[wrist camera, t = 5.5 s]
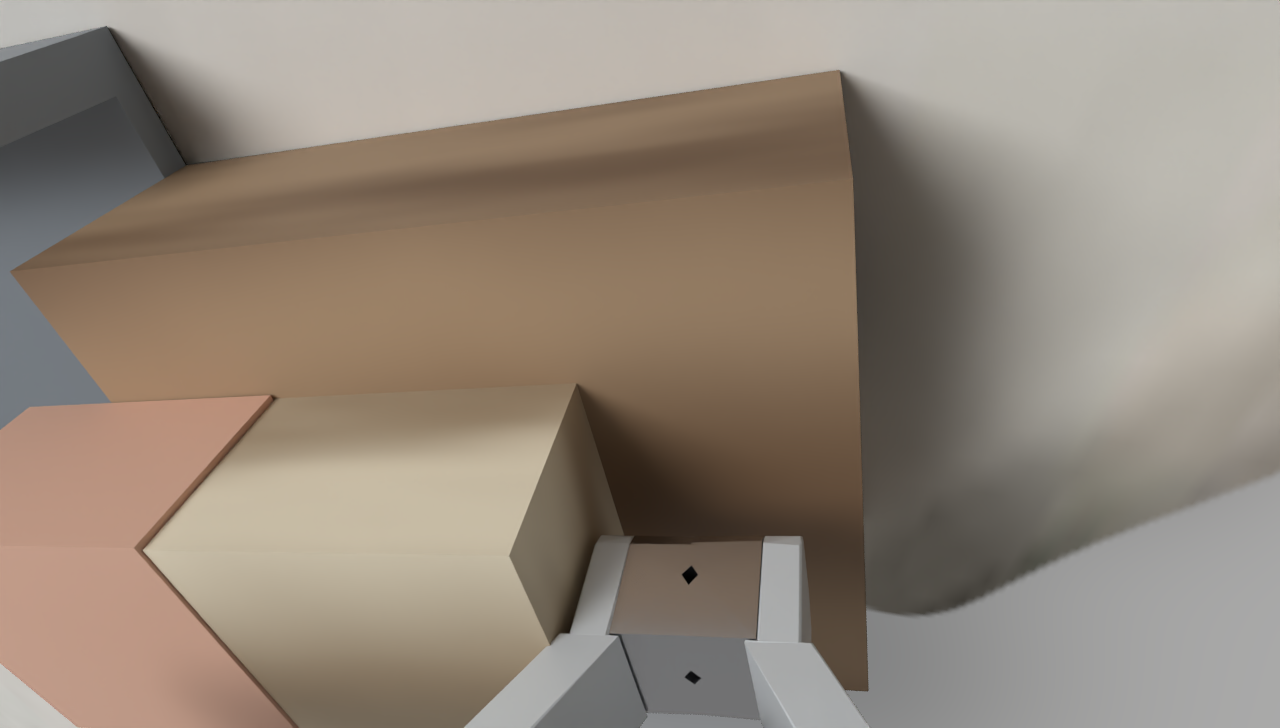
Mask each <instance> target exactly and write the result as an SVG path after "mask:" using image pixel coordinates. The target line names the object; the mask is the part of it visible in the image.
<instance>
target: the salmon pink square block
mask: <svg viewBox="0 0 1280 728" xmlns="http://www.w3.org/2000/svg"><path fill="white" fill-rule="evenodd" d="M273 401H274V400H273V399H272V397H271V395H263V396H243V397H222V398H202V399H182V400H161V401H141V402H121V403H100V404H80V405H59V406H39V407H29V408H27V409H26V410H25V411H24V412H22V413H21V414H20V415H19V416H17V417H16V418H15V419H14V420H12V421H11V422H10V423H8V424H7V425H6V426H5V427H3V428H2V429H1V430H0V663H1V664H2V665H3V666H4V667H5V668H7V669H8V670H9V671H10V672H12V673H13V674H14V675H15V676H16V677H18V678H19V679H20V680H21V681H22V682H24V683H25V684H26V685H27V686H28V687H30V688H31V689H32V690H33V691H34V692H36V693H37V694H38V695H39V696H40V697H42V698H43V699H44V700H45V701H46V702H48V703H49V704H50V705H51V706H53V707H54V708H55V709H56V710H57V711H59V712H60V713H61V714H62V715H63V716H65V717H66V718H67V719H68V720H69V721H71V722H72V723H73V724H74V725H75V726H77V727H81V728H299V727H298V726H297V725H296V724H295V723H294V722H293V720H292V719H291V718H290V717H289V716H288V715H287V714H286V713H285V711H284V710H283V709H282V708H281V707H280V706H279V705H278V703H277V702H276V701H275V700H274V699H273V698H272V697H271V696H270V694H269V693H268V692H267V691H266V690H265V689H264V688H263V686H262V685H261V684H260V683H259V682H258V681H257V680H256V678H255V677H254V676H253V675H252V674H251V673H250V672H249V671H248V669H247V668H246V667H245V666H244V665H243V664H242V663H241V661H240V660H239V659H238V658H237V657H236V656H235V655H234V654H233V652H232V651H231V650H230V649H229V648H228V647H227V646H226V644H225V643H224V642H223V641H222V640H221V639H220V638H219V637H218V635H217V634H216V633H215V632H214V631H213V630H212V629H211V627H210V626H209V625H208V624H207V623H206V622H205V621H204V620H203V618H202V617H201V616H200V615H199V614H198V613H197V612H196V610H195V609H194V608H193V607H192V606H191V605H190V604H189V603H188V601H187V600H186V599H185V598H184V597H183V596H182V595H181V593H180V592H179V591H178V590H177V589H176V588H175V587H174V586H173V584H172V583H171V582H170V581H169V580H168V579H167V578H166V576H165V575H164V574H163V573H162V572H161V571H160V570H159V569H158V567H157V566H156V565H155V564H154V563H153V562H152V561H151V559H150V558H149V557H148V556H147V555H146V554H145V553H144V552H143V549H144V548H145V547H146V546H147V544H148V543H149V542H150V541H151V540H152V539H153V538H154V537H155V535H156V534H157V533H158V532H159V531H160V530H161V529H162V527H163V526H164V525H165V524H166V523H167V522H168V521H169V519H170V518H171V517H172V516H173V515H174V514H175V513H176V511H177V510H178V509H179V508H180V507H181V506H182V505H183V504H184V502H185V501H186V500H187V499H188V498H189V497H190V496H191V494H192V493H193V492H194V491H195V490H196V489H197V488H198V486H199V485H200V484H201V483H202V482H203V481H204V480H205V478H206V477H207V476H208V475H209V474H210V473H211V472H212V470H213V469H214V468H215V467H216V466H217V465H218V464H219V463H220V461H221V460H222V459H223V458H224V457H225V456H226V455H227V453H228V452H229V451H230V450H231V449H232V448H233V447H234V445H235V444H236V443H237V442H238V441H239V440H240V439H241V437H242V436H243V435H244V434H245V433H246V432H247V431H248V430H249V428H250V427H251V426H252V425H253V424H254V423H255V422H256V420H257V419H258V418H259V417H260V416H261V415H262V414H263V412H264V411H265V410H266V409H267V408H268V407H269V406H270V404H271V403H272V402H273Z"/></svg>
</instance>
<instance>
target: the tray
mask: <svg viewBox="0 0 1280 728" xmlns="http://www.w3.org/2000/svg"><path fill="white" fill-rule="evenodd" d="M184 166H186V165H185V163H184V161H183V160H182V158H181V156H180V154H179V153H178V151H177V149H176V147H175V146H174V144H173V142H172V140H171V139H170V137H169V135H168V133H167V132H166V130H165V128H164V126H163V125H162V123H161V121H160V119H159V118H158V116H157V114H156V112H155V110H154V109H153V107H152V105H151V103H150V102H149V100H148V98H147V96H146V95H145V93H144V91H143V89H142V88H141V86H140V84H139V82H138V81H137V79H136V77H135V75H134V74H133V72H132V70H131V68H130V67H129V65H128V63H127V61H126V59H125V58H124V56H123V54H122V52H121V51H120V49H119V47H118V45H117V44H116V42H115V40H114V38H113V37H112V35H111V33H110V31H109V30H108V28H107V26H105V27H100V28H96V29H91V30H86V31H82V32H77V33H72V34H67V35H63V36H58V37H53V38H49V39H44V40H39V41H34V42H30V43H25V44H20V45H15V46H11V47H6V48H1V49H0V430H1V429H2V428H3V427H5V426H6V425H7V424H8V423H10V422H11V421H12V420H14V419H15V418H16V417H17V416H19V415H20V414H21V413H22V412H24V411H25V410H26V409H27V408H29V407H39V406H59V405H80V404H100V403H111V401H110V400H109V399H108V397H107V396H106V395H105V394H104V392H103V391H102V390H101V388H100V387H99V386H98V385H97V383H96V382H95V381H94V379H93V378H92V377H91V376H90V374H89V373H88V372H87V370H86V369H85V368H84V367H83V365H82V364H81V363H80V361H79V360H78V359H77V358H76V356H75V355H74V354H73V352H72V351H71V350H70V349H69V347H68V346H67V345H66V343H65V342H64V341H63V340H62V338H61V337H60V336H59V334H58V333H57V332H56V331H55V329H54V328H53V327H52V325H51V324H50V323H49V322H48V320H47V319H46V318H45V316H44V315H43V314H42V313H41V311H40V310H39V309H38V307H37V306H36V305H35V304H34V302H33V301H32V300H31V298H30V297H29V296H28V295H27V293H26V292H25V291H24V289H23V288H22V287H21V286H20V284H19V283H18V282H17V280H16V279H15V278H14V277H13V275H12V274H11V273H10V271H11V270H13V269H15V268H16V267H18V266H20V265H21V264H23V263H25V262H26V261H28V260H29V259H31V258H33V257H34V256H36V255H38V254H39V253H41V252H43V251H44V250H46V249H48V248H49V247H51V246H53V245H54V244H56V243H58V242H59V241H61V240H63V239H64V238H66V237H68V236H69V235H71V234H73V233H74V232H76V231H78V230H79V229H81V228H83V227H84V226H86V225H88V224H89V223H91V222H93V221H94V220H96V219H98V218H99V217H101V216H103V215H104V214H106V213H108V212H109V211H111V210H113V209H114V208H116V207H118V206H119V205H121V204H123V203H124V202H126V201H128V200H129V199H131V198H133V197H134V196H136V195H138V194H139V193H141V192H143V191H144V190H146V189H148V188H149V187H151V186H153V185H154V184H156V183H158V182H159V181H161V180H163V179H164V178H166V177H168V176H169V175H171V174H173V173H174V172H176V171H178V170H179V169H181V168H183V167H184Z"/></svg>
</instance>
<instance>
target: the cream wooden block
mask: <svg viewBox="0 0 1280 728" xmlns="http://www.w3.org/2000/svg"><path fill="white" fill-rule="evenodd" d="M601 535H618V536H624V533H623V530H622V527H621V524H620V520H619V517H618V514H617V511H616V508H615V504H614V501H613V498H612V495H611V492H610V488H609V485H608V482H607V479H606V476H605V472H604V469H603V466H602V463H601V460H600V457H599V453H598V450H597V447H596V444H595V441H594V437H593V434H592V431H591V428H590V425H589V421H588V418H587V415H586V412H585V409H584V405H583V402H582V399H581V396H580V393H579V390H578V386H577V383H572V384H552V385H532V386H512V387H493V388H473V389H453V390H434V391H414V392H395V393H375V394H355V395H336V396H316V397H297V398H277V399H275V400H274V401H273V402H272V403H271V404H270V406H269V407H268V408H267V409H266V410H265V411H264V412H263V414H262V415H261V416H260V417H259V418H258V419H257V420H256V422H255V423H254V424H253V425H252V426H251V427H250V428H249V430H248V431H247V432H246V433H245V434H244V435H243V436H242V437H241V439H240V440H239V441H238V442H237V443H236V444H235V445H234V447H233V448H232V449H231V450H230V451H229V452H228V453H227V455H226V456H225V457H224V458H223V459H222V460H221V461H220V463H219V464H218V465H217V466H216V467H215V468H214V469H213V470H212V472H211V473H210V474H209V475H208V476H207V477H206V478H205V480H204V481H203V482H202V483H201V484H200V485H199V486H198V488H197V489H196V490H195V491H194V492H193V493H192V494H191V496H190V497H189V498H188V499H187V500H186V501H185V502H184V504H183V505H182V506H181V507H180V508H179V509H178V510H177V511H176V513H175V514H174V515H173V516H172V517H171V518H170V519H169V521H168V522H167V523H166V524H165V525H164V526H163V527H162V529H161V530H160V531H159V532H158V533H157V534H156V535H155V537H154V538H153V539H152V540H151V541H150V542H149V543H148V544H147V546H146V547H145V548H144V549H143V552H144V553H145V554H146V555H147V556H148V557H149V558H150V559H151V561H152V562H153V563H154V564H155V565H156V566H157V567H158V569H159V570H160V571H161V572H162V573H163V574H164V575H165V576H166V578H167V579H168V580H169V581H170V582H171V583H172V584H173V586H174V587H175V588H176V589H177V590H178V591H179V592H180V593H181V595H182V596H183V597H184V598H185V599H186V600H187V601H188V603H189V604H190V605H191V606H192V607H193V608H194V609H195V610H196V612H197V613H198V614H199V615H200V616H201V617H202V618H203V620H204V621H205V622H206V623H207V624H208V625H209V626H210V627H211V629H212V630H213V631H214V632H215V633H216V634H217V635H218V637H219V638H220V639H221V640H222V641H223V642H224V643H225V644H226V646H227V647H228V648H229V649H230V650H231V651H232V652H233V654H234V655H235V656H236V657H237V658H238V659H239V660H240V661H241V663H242V664H243V665H244V666H245V667H246V668H247V669H248V671H249V672H250V673H251V674H252V675H253V676H254V677H255V678H256V680H257V681H258V682H259V683H260V684H261V685H262V686H263V688H264V689H265V690H266V691H267V692H268V693H269V694H270V696H271V697H272V698H273V699H274V700H275V701H276V702H277V703H278V705H279V706H280V707H281V708H282V709H283V710H284V711H285V713H286V714H287V715H288V716H289V717H290V718H291V719H292V720H293V722H294V723H295V724H296V725H297V726H298V727H299V728H464V727H465V726H466V725H467V724H468V723H469V722H470V721H471V720H472V719H473V718H474V717H475V716H476V715H477V714H478V713H479V712H480V711H481V710H482V709H483V708H484V707H485V706H486V705H487V704H488V703H489V702H490V701H491V700H492V699H493V698H494V697H495V696H497V695H498V694H499V693H500V692H501V691H502V690H503V689H504V688H505V687H506V686H507V685H508V684H509V683H510V682H511V681H512V680H513V679H514V678H515V677H516V676H517V675H518V674H519V673H520V672H521V671H522V670H523V669H524V668H525V667H526V666H527V665H528V664H529V663H530V662H531V661H532V660H533V659H534V658H535V657H536V656H537V655H538V654H539V653H540V652H541V651H542V650H543V649H544V648H545V647H546V646H550V645H551V642H552V641H553V639H555V638H556V637H557V636H558V635H559V634H560V633H570V630H571V626H572V623H573V619H574V616H575V612H576V609H577V605H578V602H579V598H580V595H581V591H582V588H583V584H584V581H585V577H586V574H587V570H588V567H589V563H590V560H591V556H592V553H593V549H594V546H595V544H596V542H597V541H598V539H599V538H600V536H601Z"/></svg>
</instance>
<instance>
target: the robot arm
mask: <svg viewBox="0 0 1280 728" xmlns="http://www.w3.org/2000/svg"><path fill="white" fill-rule="evenodd" d="M646 713H668V714H696V715H697V714H698V715H711V716H721V717H732V718H744V719H754V720H761V724H762V726H763V728H870V727H869V725H868V724H867V722H866V721H865V719H864V718H863V716H862V715H861V713H860V712H859V710H858V709H857V707H856V706H855V704H854V703H853V702H852V700H851V699H850V697H849V696H848V694H847V693H846V691H845V690H844V688H843V687H842V685H841V684H840V682H839V681H838V679H837V678H836V676H835V675H834V674H833V672H832V671H831V669H830V668H829V666H828V665H827V663H826V662H825V660H824V659H823V657H822V656H821V654H820V653H819V651H818V650H817V649H816V647H815V646H814V644H813V643H811V616H810V601H809V587H808V578H807V569H806V559H805V550H804V541H803V537H802V536H765V535H762V536H695V537H667V536H618V535H601V536H600V538H599V539H598V541H597V542H596V544H595V546H594V549H593V553H592V556H591V560H590V563H589V567H588V570H587V574H586V577H585V581H584V584H583V588H582V591H581V595H580V598H579V602H578V605H577V609H576V612H575V616H574V619H573V623H572V626H571V630H570V633H560V634H559V635H558V636H557V637H556V638H555V639H553V641H552V642H551V645H550V646H546V647H545V648H544V649H543V650H542V651H541V652H540V653H539V654H538V655H537V656H536V657H535V658H534V659H533V660H532V661H531V662H530V663H529V664H528V665H527V666H526V667H525V668H524V669H523V670H522V671H521V672H520V673H519V674H518V675H517V676H516V677H515V678H514V679H513V680H512V681H511V682H510V683H509V684H508V685H507V686H506V687H505V688H504V689H503V690H502V691H501V692H500V693H499V694H498V695H497V696H495V697H494V698H493V699H492V700H491V701H490V702H489V703H488V704H487V705H486V706H485V707H484V708H483V709H482V710H481V711H480V712H479V713H478V714H477V715H476V716H475V717H474V718H473V719H472V720H471V721H470V722H469V723H468V724H467V725H466V726H465V727H464V728H640V726H641V725H642V724H643V722H644V721H645V719H646V718H647V714H646Z"/></svg>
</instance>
